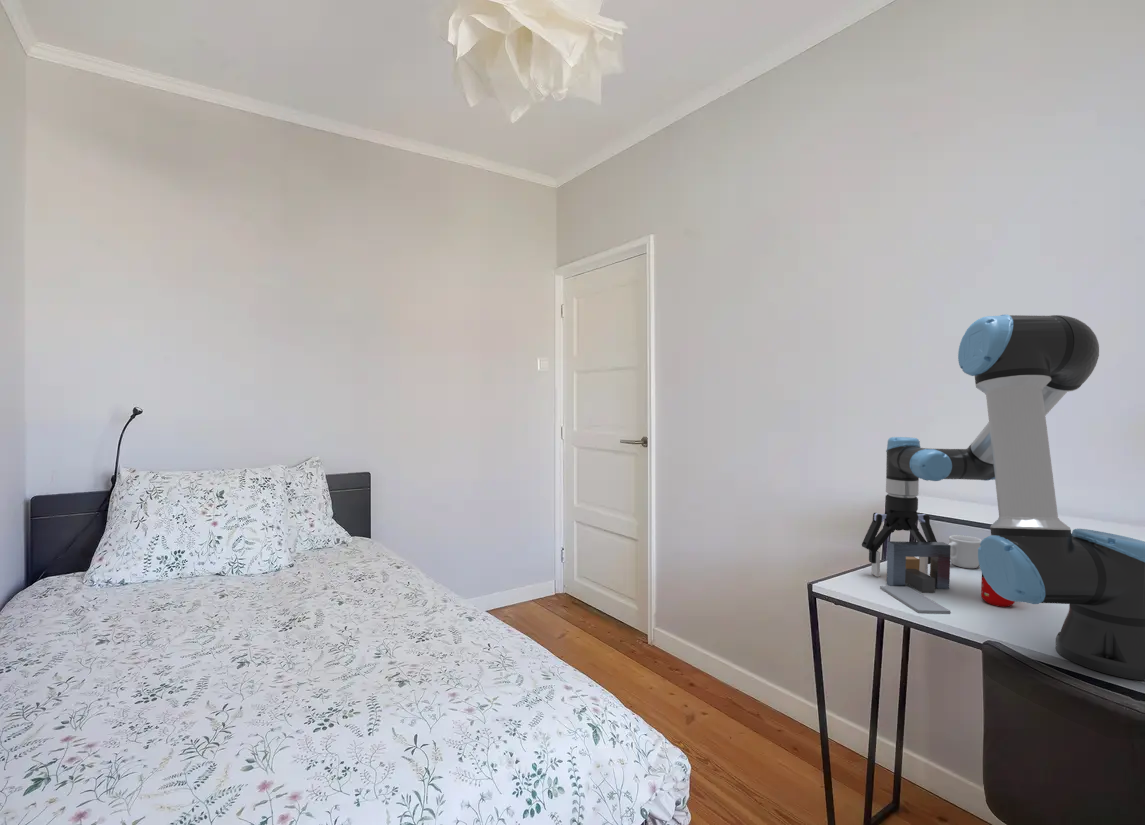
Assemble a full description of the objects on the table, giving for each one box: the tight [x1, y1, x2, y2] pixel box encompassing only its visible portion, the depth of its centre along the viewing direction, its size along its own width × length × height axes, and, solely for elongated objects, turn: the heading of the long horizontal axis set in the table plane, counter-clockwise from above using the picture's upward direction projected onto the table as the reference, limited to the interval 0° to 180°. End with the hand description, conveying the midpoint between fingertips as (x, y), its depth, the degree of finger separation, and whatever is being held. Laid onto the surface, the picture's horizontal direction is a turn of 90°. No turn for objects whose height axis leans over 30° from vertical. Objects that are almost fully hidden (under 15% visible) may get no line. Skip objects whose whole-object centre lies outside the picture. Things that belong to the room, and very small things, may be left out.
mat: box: [879, 585, 951, 615], centre depth 133 cm, size 16×7×1 cm, turn 179°
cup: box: [947, 534, 983, 569], centre depth 160 cm, size 11×8×8 cm
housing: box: [886, 541, 951, 590], centre depth 143 cm, size 3×14×11 cm, turn 89°
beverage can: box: [980, 573, 1016, 608], centre depth 131 cm, size 6×6×12 cm
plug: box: [905, 557, 936, 594], centre depth 145 cm, size 13×5×6 cm, turn 179°
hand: (899, 575), depth 151 cm, fingers open, 12 cm apart
